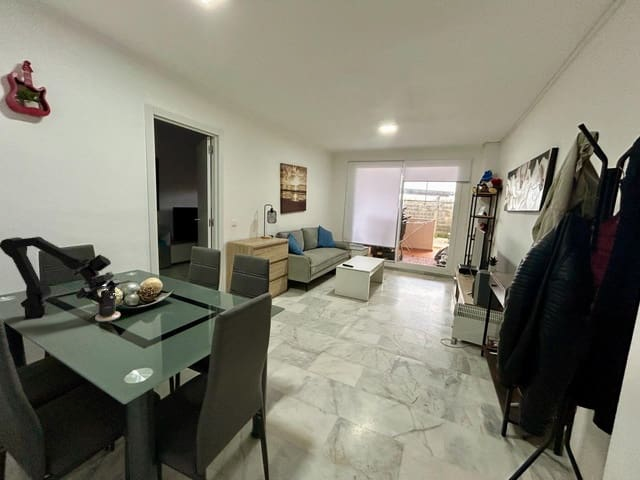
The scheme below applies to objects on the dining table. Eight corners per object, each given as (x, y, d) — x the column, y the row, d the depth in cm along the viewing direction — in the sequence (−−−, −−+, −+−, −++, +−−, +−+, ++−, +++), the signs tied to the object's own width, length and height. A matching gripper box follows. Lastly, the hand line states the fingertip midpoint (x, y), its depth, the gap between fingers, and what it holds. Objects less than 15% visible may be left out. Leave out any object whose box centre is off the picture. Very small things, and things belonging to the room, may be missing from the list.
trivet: (93, 322, 129) (93, 320, 129) (97, 314, 138) (97, 312, 138) (118, 319, 134) (118, 317, 134) (121, 312, 143) (121, 310, 143)
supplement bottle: (106, 317, 132) (105, 294, 130) (94, 315, 133) (94, 292, 131) (119, 312, 138) (118, 290, 137) (108, 310, 140) (107, 288, 138)
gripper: (80, 271, 124) (100, 298, 124) (117, 264, 143) (135, 287, 142) (67, 285, 127) (86, 311, 126) (105, 276, 145) (122, 299, 144)
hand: (109, 301), depth 135 cm, fingers closed on supplement bottle, 6 cm apart
